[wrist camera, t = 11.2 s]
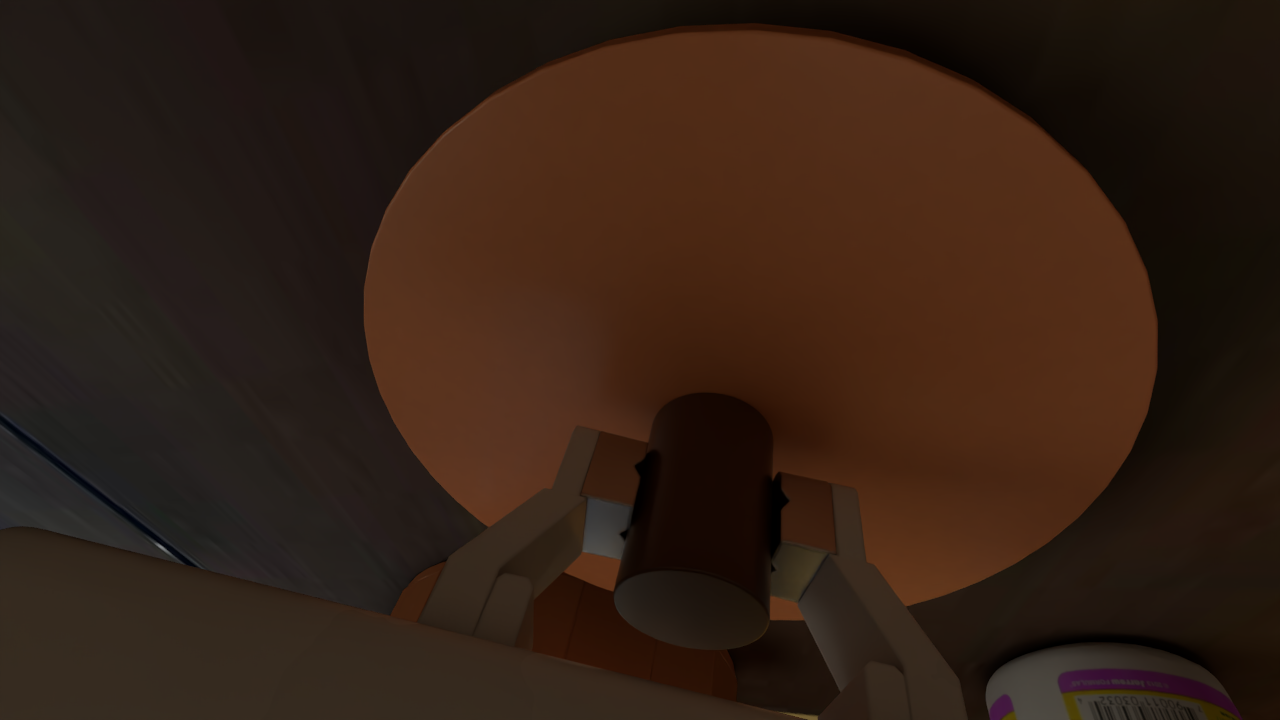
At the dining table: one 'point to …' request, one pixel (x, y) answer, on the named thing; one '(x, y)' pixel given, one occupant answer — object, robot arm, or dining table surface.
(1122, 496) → the dining table surface
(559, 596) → the terracotta cooking pot
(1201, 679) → the supplement bottle
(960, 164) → the lid
